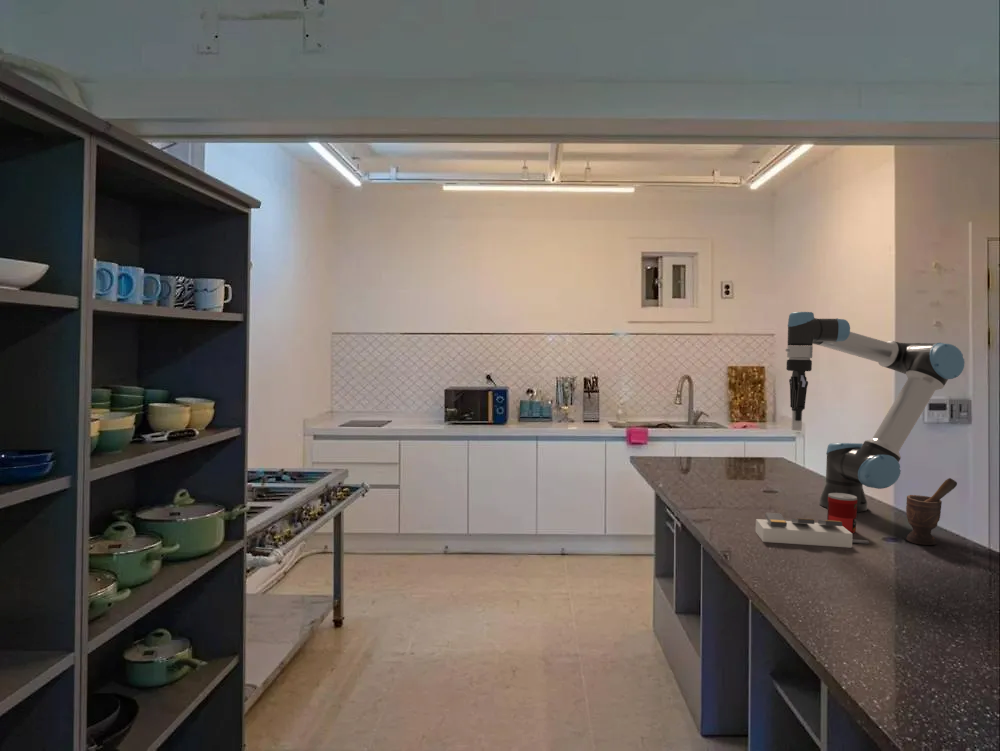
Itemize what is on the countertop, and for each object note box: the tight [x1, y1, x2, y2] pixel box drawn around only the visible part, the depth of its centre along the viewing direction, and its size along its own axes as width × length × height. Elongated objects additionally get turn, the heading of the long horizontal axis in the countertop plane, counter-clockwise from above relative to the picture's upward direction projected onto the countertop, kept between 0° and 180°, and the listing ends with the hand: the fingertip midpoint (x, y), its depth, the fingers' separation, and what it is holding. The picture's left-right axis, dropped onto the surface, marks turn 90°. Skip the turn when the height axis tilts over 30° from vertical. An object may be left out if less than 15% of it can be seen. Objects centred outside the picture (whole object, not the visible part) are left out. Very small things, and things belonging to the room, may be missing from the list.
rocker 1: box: [764, 511, 787, 527], centre depth 189 cm, size 4×7×1 cm, turn 170°
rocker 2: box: [817, 519, 842, 526], centre depth 186 cm, size 4×7×1 cm, turn 170°
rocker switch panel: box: [755, 518, 870, 549], centre depth 187 cm, size 30×10×4 cm, turn 80°
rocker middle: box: [790, 517, 815, 524], centre depth 188 cm, size 4×7×1 cm, turn 170°
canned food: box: [826, 493, 858, 534], centre depth 198 cm, size 8×8×11 cm
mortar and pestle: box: [905, 477, 958, 546], centre depth 186 cm, size 12×9×20 cm
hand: (796, 430), depth 210 cm, fingers closed
